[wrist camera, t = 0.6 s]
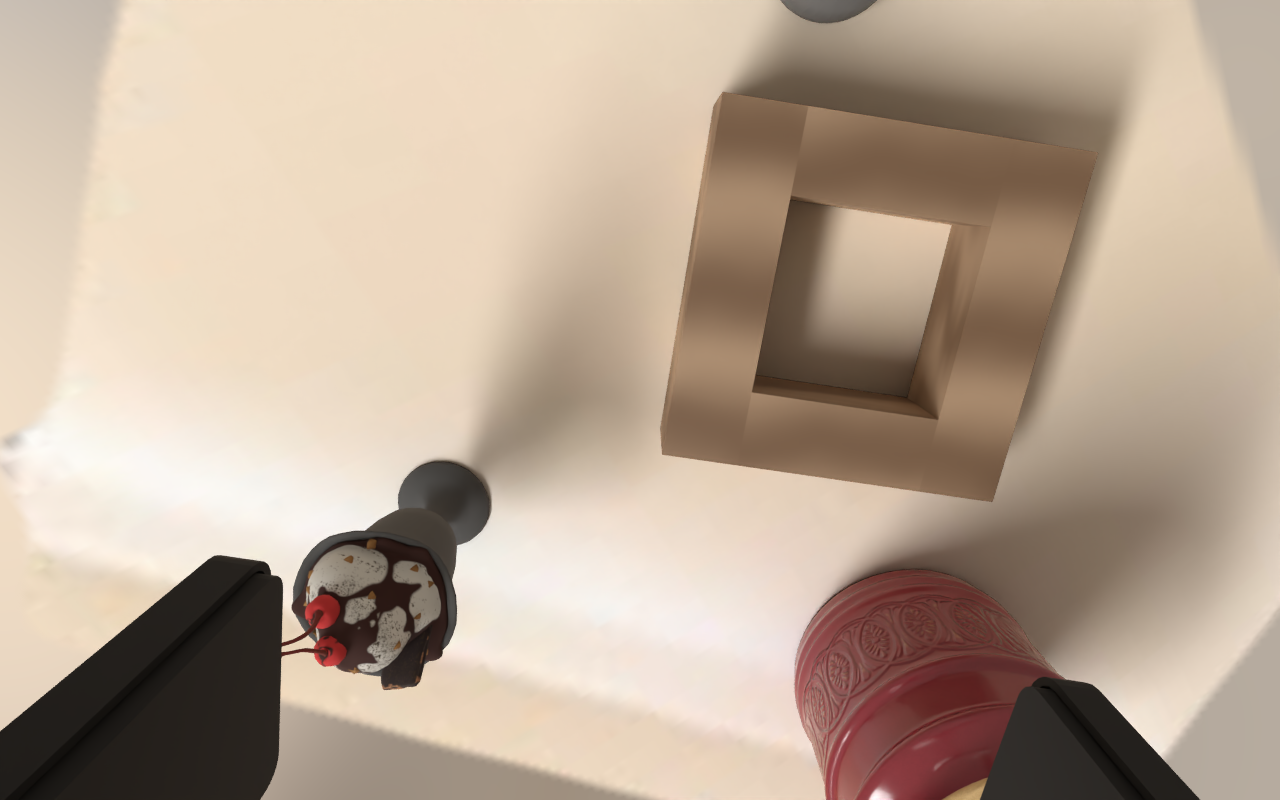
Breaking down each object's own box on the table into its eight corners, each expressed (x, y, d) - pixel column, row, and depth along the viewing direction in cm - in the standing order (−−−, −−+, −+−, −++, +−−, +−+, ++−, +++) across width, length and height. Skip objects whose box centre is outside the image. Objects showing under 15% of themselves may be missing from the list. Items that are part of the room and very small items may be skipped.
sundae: (378, 443, 37) (210, 591, 23) (504, 449, 37) (416, 601, 23) (384, 556, 39) (230, 760, 25) (504, 561, 39) (423, 769, 25)
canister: (916, 791, 43) (1095, 1173, 26) (744, 690, 41) (814, 1029, 24) (1062, 636, 40) (1370, 951, 23) (883, 520, 38) (1074, 769, 21)
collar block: (713, 105, 33) (722, 91, 29) (1045, 159, 33) (1098, 152, 30) (660, 428, 37) (662, 454, 33) (956, 471, 38) (992, 501, 34)
